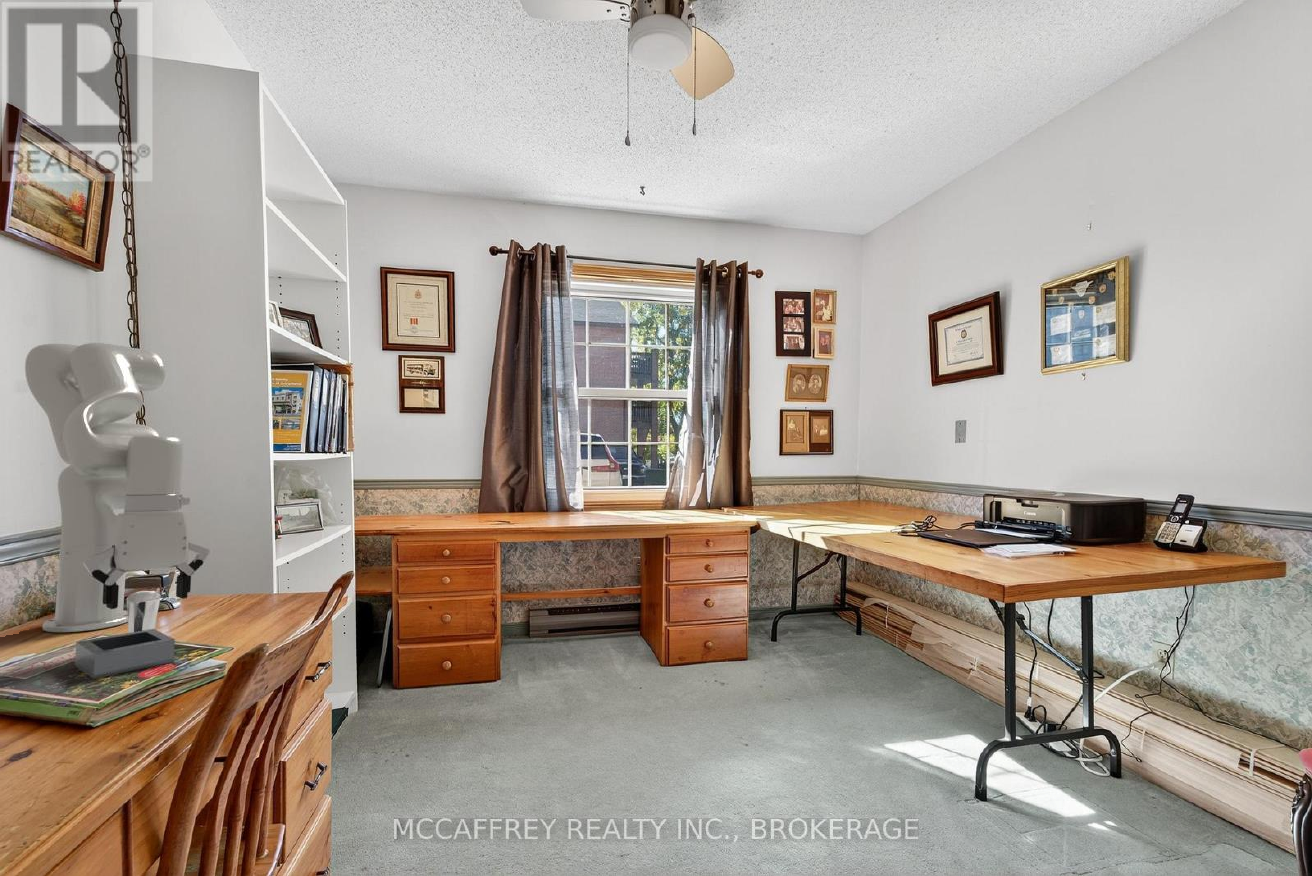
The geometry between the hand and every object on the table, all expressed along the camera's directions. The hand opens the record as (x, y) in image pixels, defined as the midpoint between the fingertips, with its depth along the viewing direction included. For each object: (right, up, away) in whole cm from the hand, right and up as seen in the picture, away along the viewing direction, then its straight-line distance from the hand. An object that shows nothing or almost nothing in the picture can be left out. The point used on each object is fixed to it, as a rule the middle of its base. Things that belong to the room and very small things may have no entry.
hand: (148, 602), depth 103 cm
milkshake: (-1, -8, 0) cm, 8 cm away
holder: (+5, -7, -9) cm, 13 cm away
